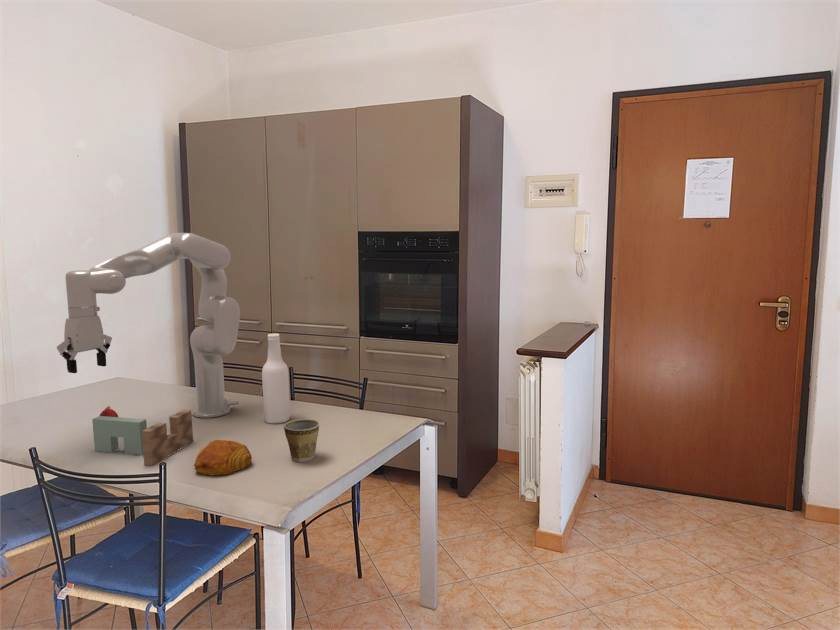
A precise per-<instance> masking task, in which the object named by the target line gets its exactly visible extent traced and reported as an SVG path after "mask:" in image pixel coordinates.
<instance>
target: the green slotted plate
mask: <svg viewBox="0 0 840 630" xmlns="http://www.w3.org/2000/svg"><path fill="white" fill-rule="evenodd" d="M91 420H92V431H93V443H94V451H95V452H98V451H104V452H103V453H109V452H112V453H114V452H116V451H118V450H120V449H119V438H121V439H123V445H124V446H123V448H124V454H125V453H127V454H126V455H132V454H137V455H136V456H143V455H144V454H143V441H142V431H143V430H145V429H147V428H148V427H147V419H144V418H133V417H122V416H121V417H119V416H118V417H107V416H99V415H98V416H96V417H94V418H92V419H91ZM117 449H118V450H117ZM115 450H116V451H115ZM113 451H114V452H113ZM138 454H139V455H138ZM142 454H143V455H142Z"/></svg>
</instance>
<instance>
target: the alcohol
mask: <svg viewBox="0 0 840 630" xmlns="http://www.w3.org/2000/svg"><path fill="white" fill-rule="evenodd" d="M280 335H281V334H279V333H268V334H267V360H266V362H265V363H264V365H263V367H262V371H261V381H262V403H263V419H264V421H265V422H266V423H267V424H271V425H273V424H274V425H276V424H278V425H279V424H283V423H287V422H289V420H290V418H291V403H290V402H291V401H290V399H291V397H290V378H289V377H290V376H289V375H290V374H289V368H288V365H287V364H286V362H284V360H283V357H282V348H281V342H280V341H281V340H280V339H281V338H280Z"/></svg>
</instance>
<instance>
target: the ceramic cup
mask: <svg viewBox="0 0 840 630" xmlns="http://www.w3.org/2000/svg"><path fill="white" fill-rule="evenodd" d="M319 429H320V422H319V421H318V420H315V419H311V418H302V419H294V420H290V421H287V422H285V424H283V431H284V434H285V438H286V440H287V443H288V447H289V452H290V458H291V460H292V461H293V462H296V461H297V463H305V462H310V461H312V460H313V459H315V456H316V449H317V441H318V438H319V437H318V436H319Z"/></svg>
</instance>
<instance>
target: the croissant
mask: <svg viewBox="0 0 840 630" xmlns="http://www.w3.org/2000/svg"><path fill="white" fill-rule="evenodd" d="M194 461H195V463H194V465H193V467H194V470H195V471H196V472H197V471H198V473H199V474H202V473H203V475H207V474H213V475H212V476H221V475H220V474H223V475H226V474H229V475H231V474H232V473H233V472H234V470H239V471H241V470H242V469H245V468H246V467H248V466H249V465H250V464H251V462H252V454H251V452H250V450H249V448H248V447H247V445H245V444H243V443H240V442H237V441H235V440H225V439H224V440H223V439H222V440H221V439H217V440H213V441H210V442H209V443H208V444H207V445H206V446H205V447H202V448H201V449H200V450H199V451H198V453H197V455H196V459H195V460H194ZM230 473H231V474H230ZM234 473H235V472H234ZM234 473H233V474H234Z"/></svg>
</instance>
